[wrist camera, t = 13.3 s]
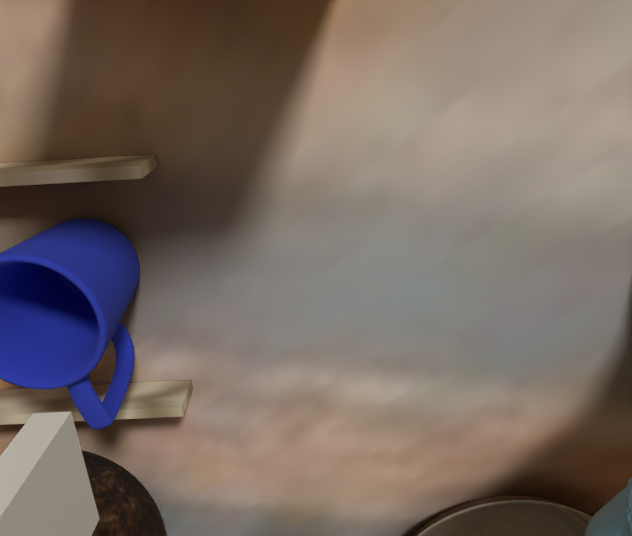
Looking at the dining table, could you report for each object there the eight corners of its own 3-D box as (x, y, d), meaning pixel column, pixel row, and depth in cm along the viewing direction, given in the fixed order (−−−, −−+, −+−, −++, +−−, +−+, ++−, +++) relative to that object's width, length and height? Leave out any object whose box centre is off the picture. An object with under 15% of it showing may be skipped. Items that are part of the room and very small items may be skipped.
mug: (95, 369, 44) (36, 458, 35) (13, 226, 40) (-79, 284, 31) (194, 338, 43) (160, 421, 34) (121, 187, 39) (59, 234, 30)
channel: (155, 154, 38) (126, 174, 33) (192, 388, 45) (174, 439, 39) (-100, 169, 39) (-171, 191, 33) (-25, 398, 45) (-74, 450, 40)
